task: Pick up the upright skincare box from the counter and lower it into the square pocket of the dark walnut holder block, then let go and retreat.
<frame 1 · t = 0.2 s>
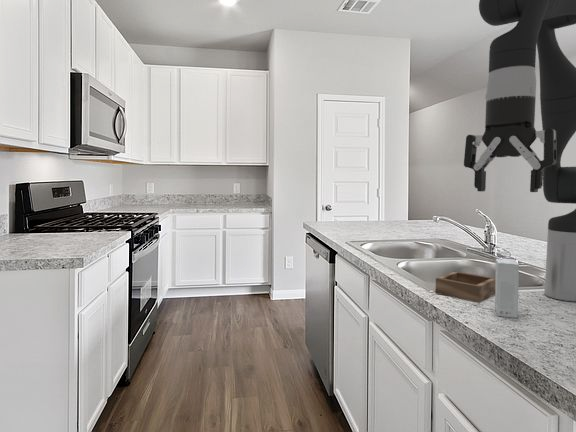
hand: (506, 191, 71), 29 cm above the worktop, fingers open, 8 cm apart
skincare box: (505, 313, 92), on the worktop
walnut holder: (465, 293, 107), on the worktop
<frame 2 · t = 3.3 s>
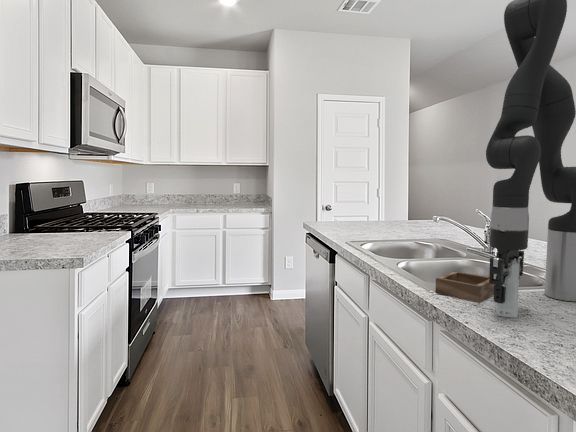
hand: (505, 298, 91), 3 cm above the worktop, fingers closed on skincare box, 7 cm apart
skincare box: (505, 313, 92), on the worktop, touching gripper
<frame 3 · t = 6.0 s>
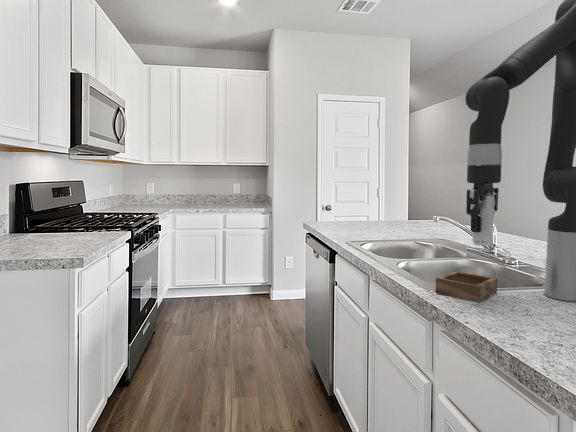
hand: (481, 230, 100), 18 cm above the worktop, fingers closed on skincare box, 7 cm apart
skincare box: (481, 244, 100), point 14 cm above the worktop, touching gripper
when the fingers open (5 cm above the worktop, at t = 8.8 s): skincare box stays where it is, resting on walnut holder.
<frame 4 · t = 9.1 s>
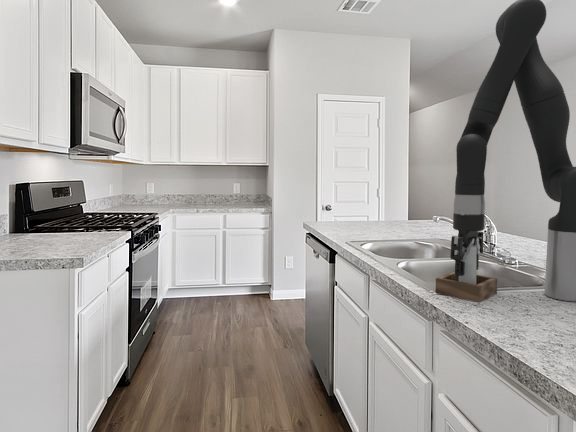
hand: (466, 272, 107), 6 cm above the worktop, fingers open, 8 cm apart
skincare box: (466, 289, 107), point 1 cm above the worktop, touching walnut holder
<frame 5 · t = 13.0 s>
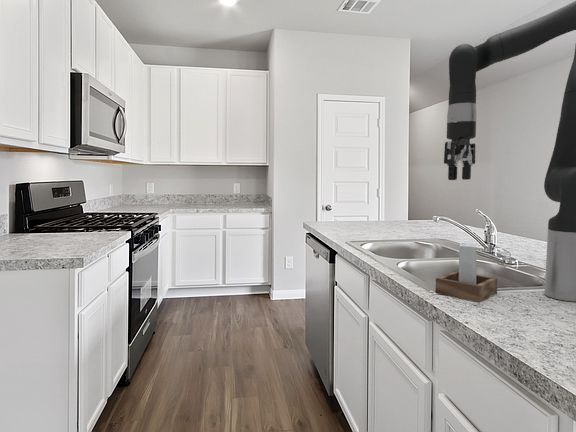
hand: (459, 179, 113), 30 cm above the worktop, fingers open, 8 cm apart
nothing on the worktop moved.
at the end: skincare box 0.2 cm off-centre on the walnut holder, point 0.8 cm above the walnut holder's base; skincare box tilted 0°; the gripper is holding nothing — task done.
